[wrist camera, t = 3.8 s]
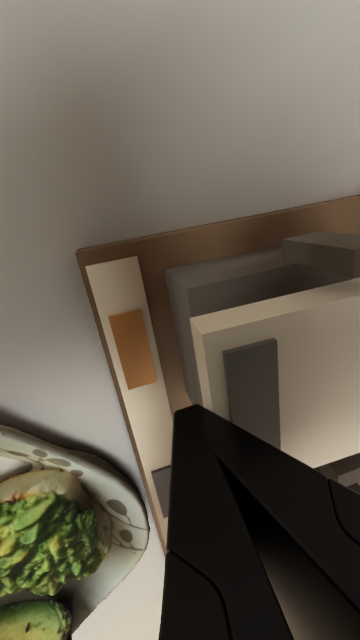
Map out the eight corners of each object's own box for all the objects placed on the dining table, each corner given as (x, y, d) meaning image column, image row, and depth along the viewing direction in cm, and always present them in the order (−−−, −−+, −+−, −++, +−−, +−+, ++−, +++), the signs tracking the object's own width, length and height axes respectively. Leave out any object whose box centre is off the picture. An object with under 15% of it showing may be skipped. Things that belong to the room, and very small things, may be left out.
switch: (463, 252, 8) (517, 259, 7) (432, 397, 10) (470, 419, 9) (189, 318, 7) (204, 337, 6) (213, 468, 9) (227, 503, 8)
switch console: (370, 193, 13) (601, 175, 7) (340, 529, 22) (430, 646, 16) (77, 249, 11) (50, 295, 5) (179, 600, 20) (215, 767, 14)
